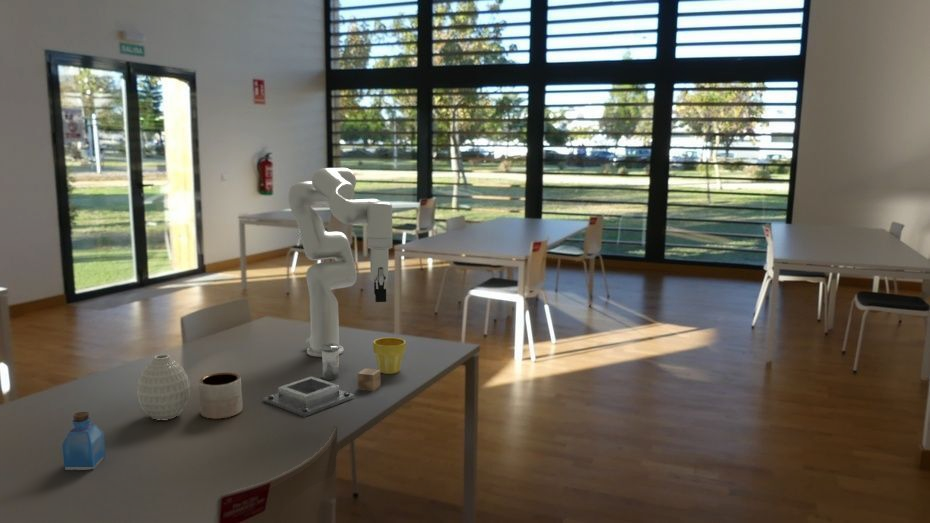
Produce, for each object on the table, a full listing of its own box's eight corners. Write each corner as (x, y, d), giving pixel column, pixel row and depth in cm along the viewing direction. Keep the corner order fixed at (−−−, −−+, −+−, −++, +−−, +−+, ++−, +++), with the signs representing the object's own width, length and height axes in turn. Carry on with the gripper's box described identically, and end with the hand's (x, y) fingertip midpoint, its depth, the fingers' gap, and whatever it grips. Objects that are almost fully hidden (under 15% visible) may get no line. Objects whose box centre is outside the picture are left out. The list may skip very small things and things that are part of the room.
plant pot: (408, 366, 228) (408, 337, 227) (402, 376, 218) (402, 346, 217) (377, 364, 229) (377, 336, 228) (370, 375, 219) (369, 345, 218)
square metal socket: (263, 401, 196) (262, 387, 196) (313, 384, 211) (312, 371, 210) (304, 416, 186) (304, 402, 185) (354, 397, 200) (354, 384, 199)
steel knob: (317, 377, 217) (316, 346, 215) (331, 372, 221) (331, 342, 220) (330, 381, 213) (329, 349, 212) (344, 376, 218) (343, 345, 216)
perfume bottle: (77, 458, 160) (73, 409, 158) (105, 457, 161) (101, 408, 159) (64, 471, 154) (59, 420, 152) (93, 470, 155) (89, 419, 153)
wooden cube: (358, 389, 207) (357, 373, 206) (365, 383, 212) (365, 368, 211) (373, 391, 205) (373, 375, 205) (380, 385, 210) (380, 370, 209)
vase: (166, 429, 177) (162, 366, 174) (128, 421, 181) (123, 360, 179) (202, 411, 189) (198, 352, 186) (164, 404, 193) (160, 346, 190)
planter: (251, 407, 192) (249, 374, 190) (225, 422, 182) (223, 387, 180) (218, 402, 195) (216, 370, 193) (191, 417, 185) (189, 382, 183)
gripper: (366, 238, 217) (367, 292, 220) (368, 247, 200) (368, 305, 203) (390, 238, 218) (390, 291, 221) (394, 247, 201) (394, 304, 204)
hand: (380, 298), depth 212 cm, fingers open, 9 cm apart
